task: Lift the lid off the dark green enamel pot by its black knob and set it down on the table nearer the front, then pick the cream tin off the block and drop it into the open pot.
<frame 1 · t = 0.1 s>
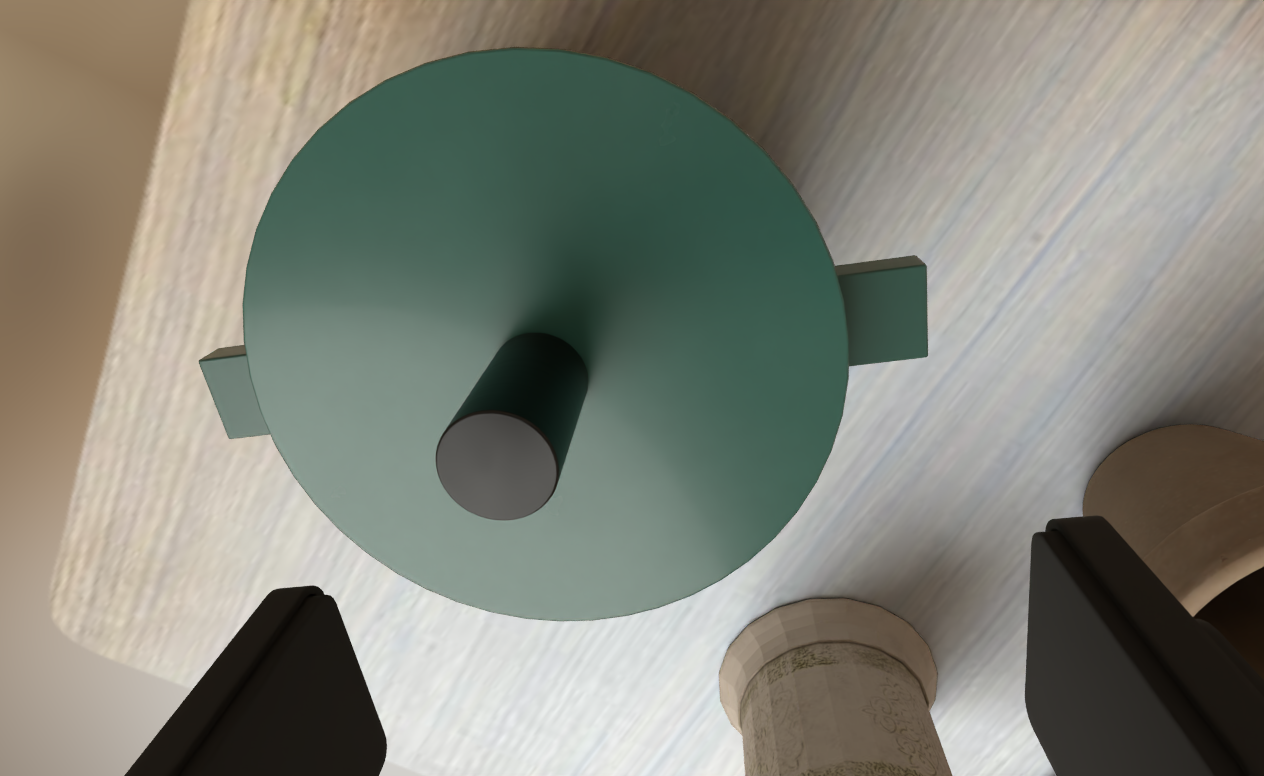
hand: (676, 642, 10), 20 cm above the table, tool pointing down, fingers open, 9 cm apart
flower pot: (1159, 495, 31), on the table
lid: (544, 369, 20), point 10 cm above the table, touching pot
pot: (593, 265, 29), on the table
mug: (865, 703, 37), on the table
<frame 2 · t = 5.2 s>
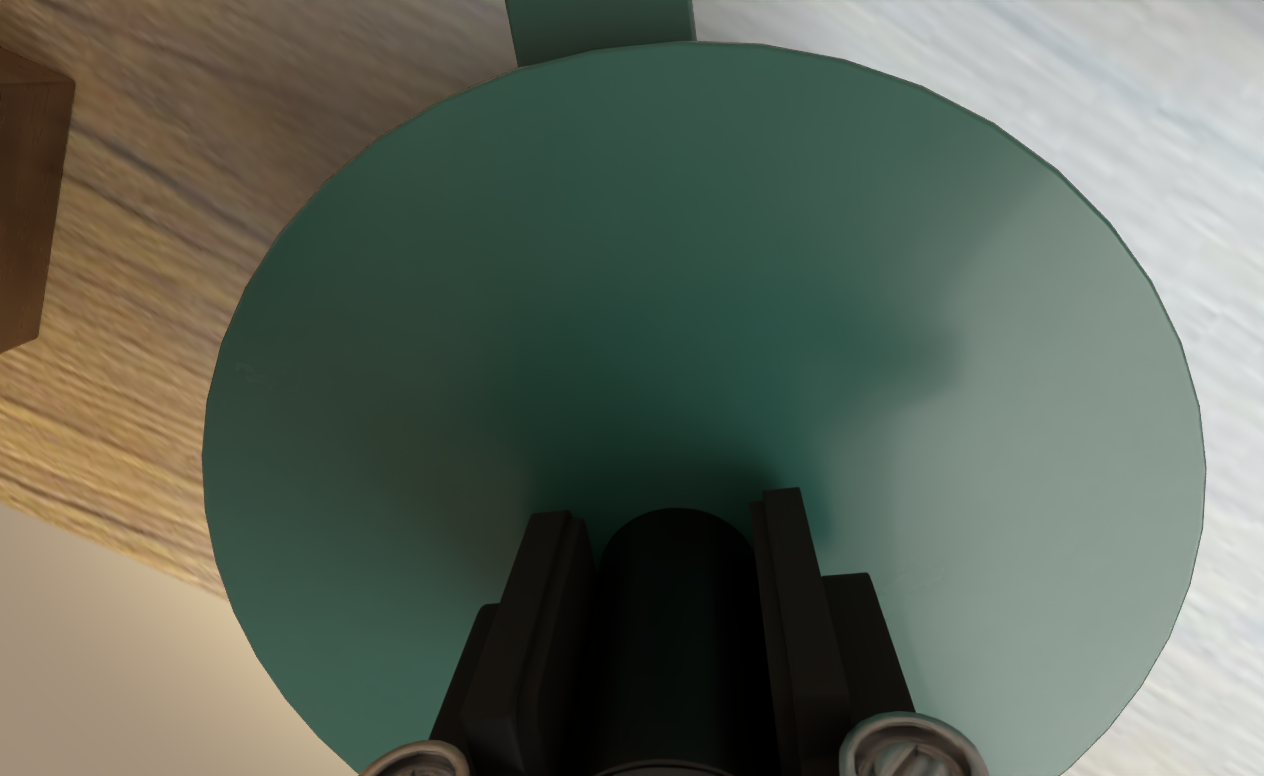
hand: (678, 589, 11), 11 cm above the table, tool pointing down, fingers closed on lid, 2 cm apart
lid: (679, 550, 12), point 11 cm above the table, touching gripper, pot
pot: (686, 334, 22), on the table
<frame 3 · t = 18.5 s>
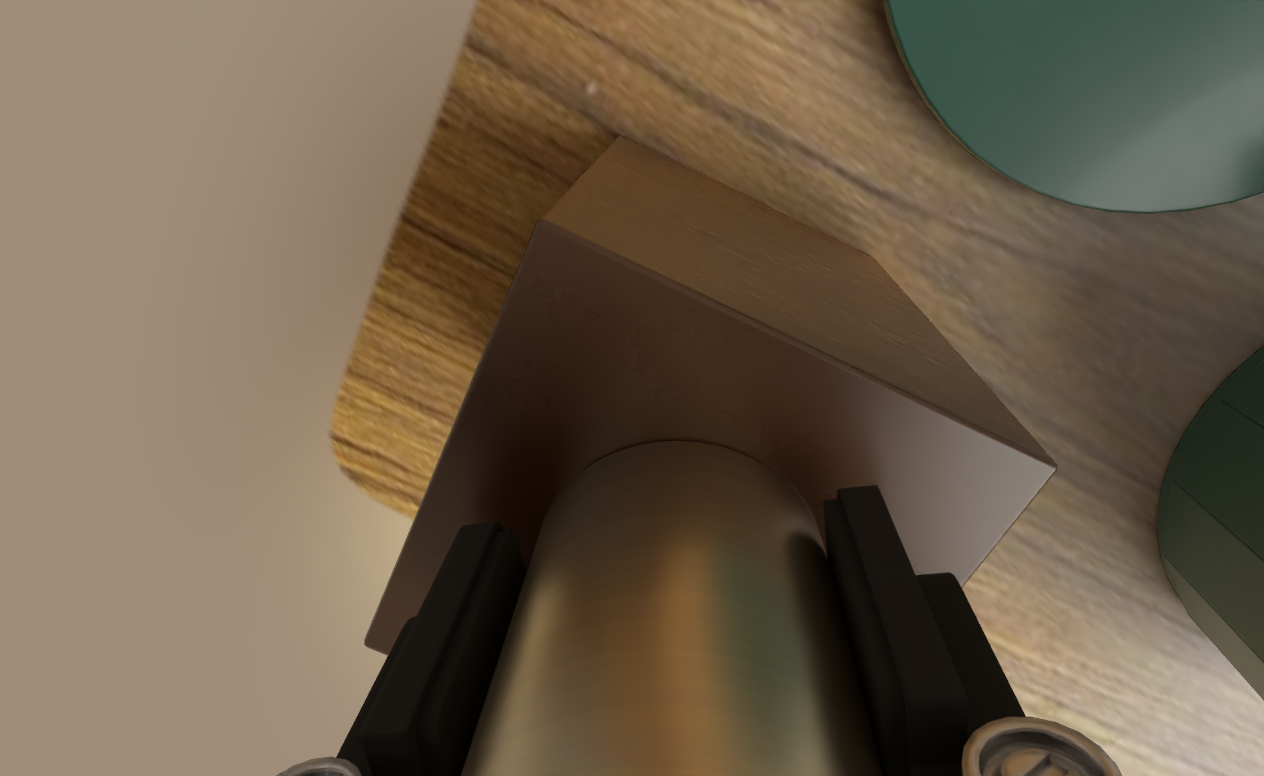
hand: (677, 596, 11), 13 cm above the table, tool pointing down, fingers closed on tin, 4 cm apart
block: (686, 321, 23), on the table
tin: (678, 565, 12), point 12 cm above the table, touching gripper, block
when the fingers open (8 cm above the table, at t = 25.3 s): tin drops 7 cm, resting on pot.
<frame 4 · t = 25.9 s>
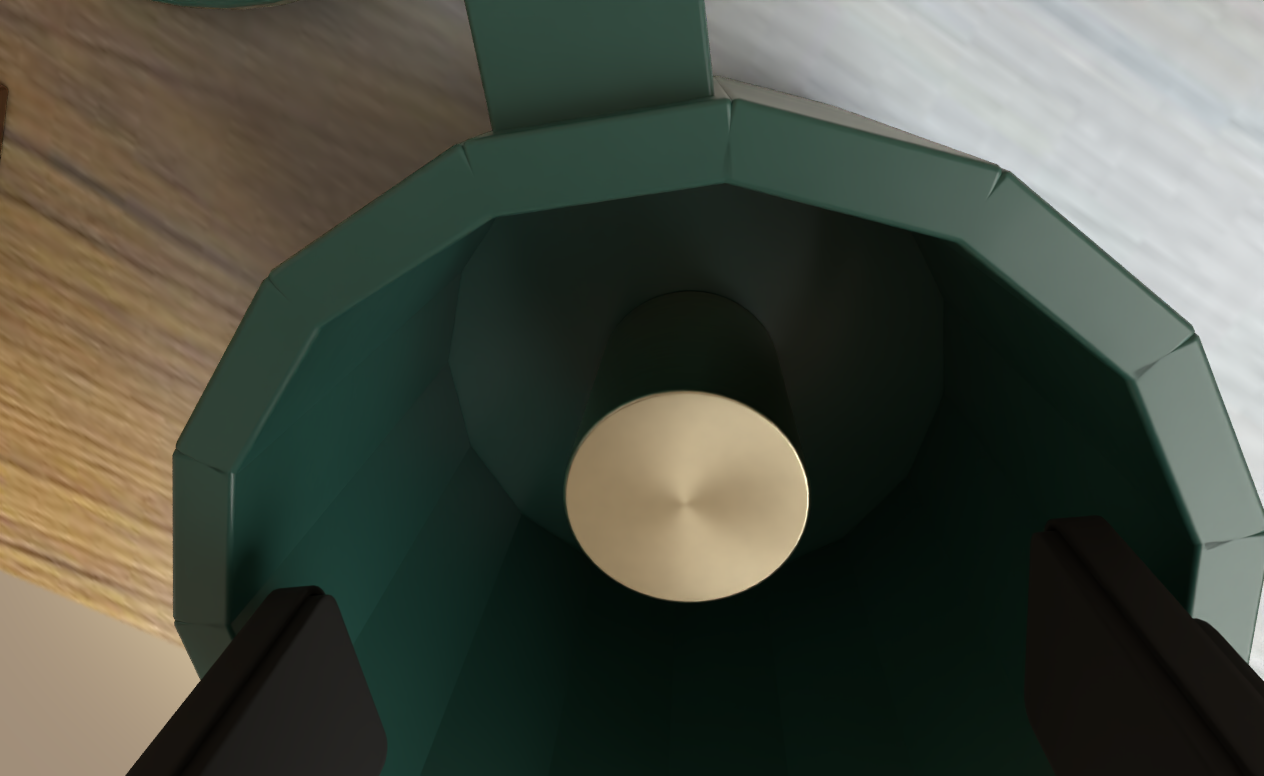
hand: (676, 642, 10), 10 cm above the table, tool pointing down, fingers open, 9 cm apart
pot: (691, 368, 20), on the table
tin: (689, 376, 19), resting on pot
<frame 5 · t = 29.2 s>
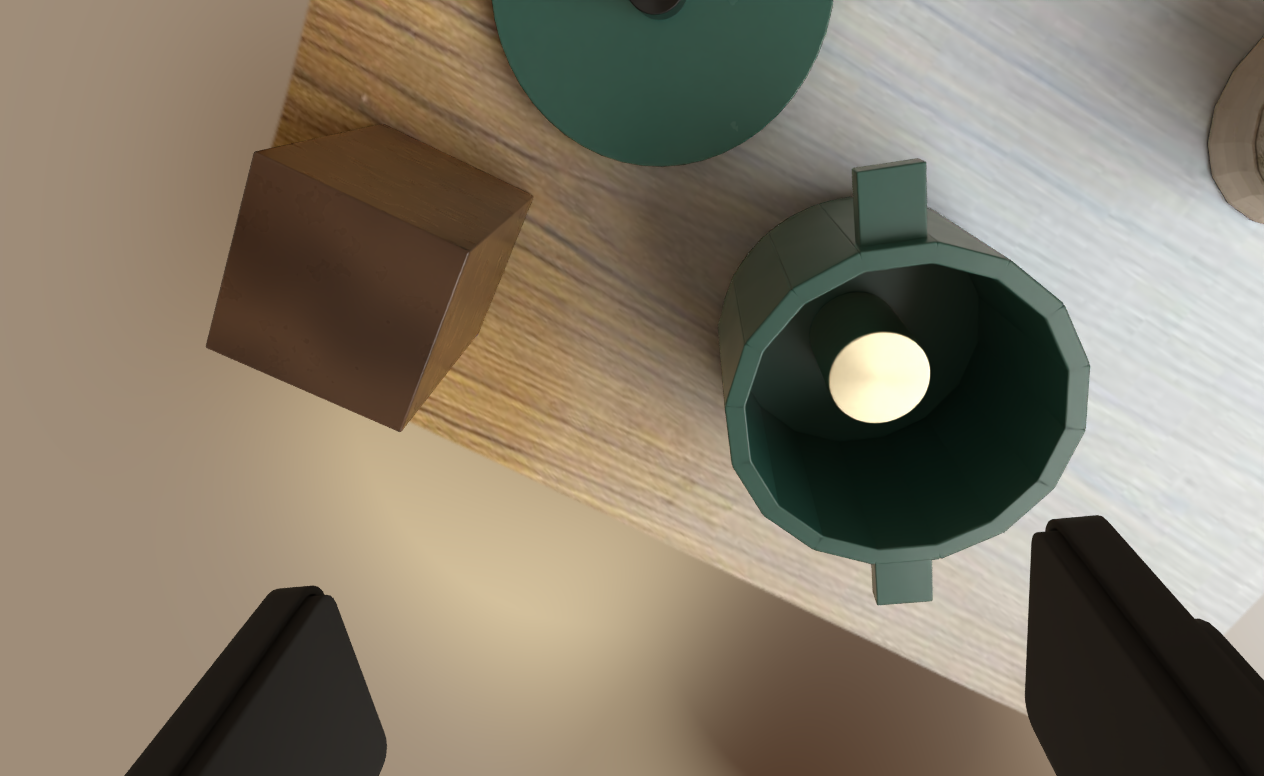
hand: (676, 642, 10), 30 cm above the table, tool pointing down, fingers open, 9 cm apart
pot: (852, 330, 40), on the table
block: (432, 233, 40), on the table
tin: (853, 333, 39), resting on pot
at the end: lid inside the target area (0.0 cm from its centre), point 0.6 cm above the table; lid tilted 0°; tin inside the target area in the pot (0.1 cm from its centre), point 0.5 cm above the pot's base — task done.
